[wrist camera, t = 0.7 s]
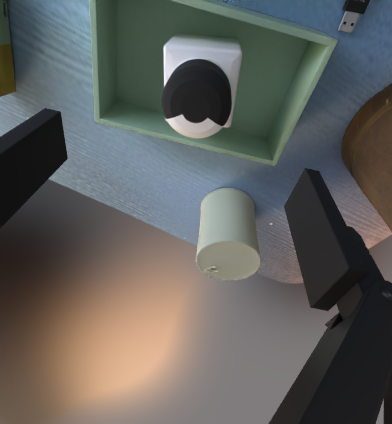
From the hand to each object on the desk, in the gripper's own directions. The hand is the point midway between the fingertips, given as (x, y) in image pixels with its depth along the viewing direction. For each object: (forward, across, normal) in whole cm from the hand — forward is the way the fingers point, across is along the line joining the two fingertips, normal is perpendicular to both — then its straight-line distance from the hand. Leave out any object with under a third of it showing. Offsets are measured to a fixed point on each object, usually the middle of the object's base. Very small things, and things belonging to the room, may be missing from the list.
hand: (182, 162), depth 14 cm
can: (+22, +8, -20) cm, 31 cm away
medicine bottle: (+22, 0, 0) cm, 22 cm away
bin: (+22, 0, 0) cm, 22 cm away
